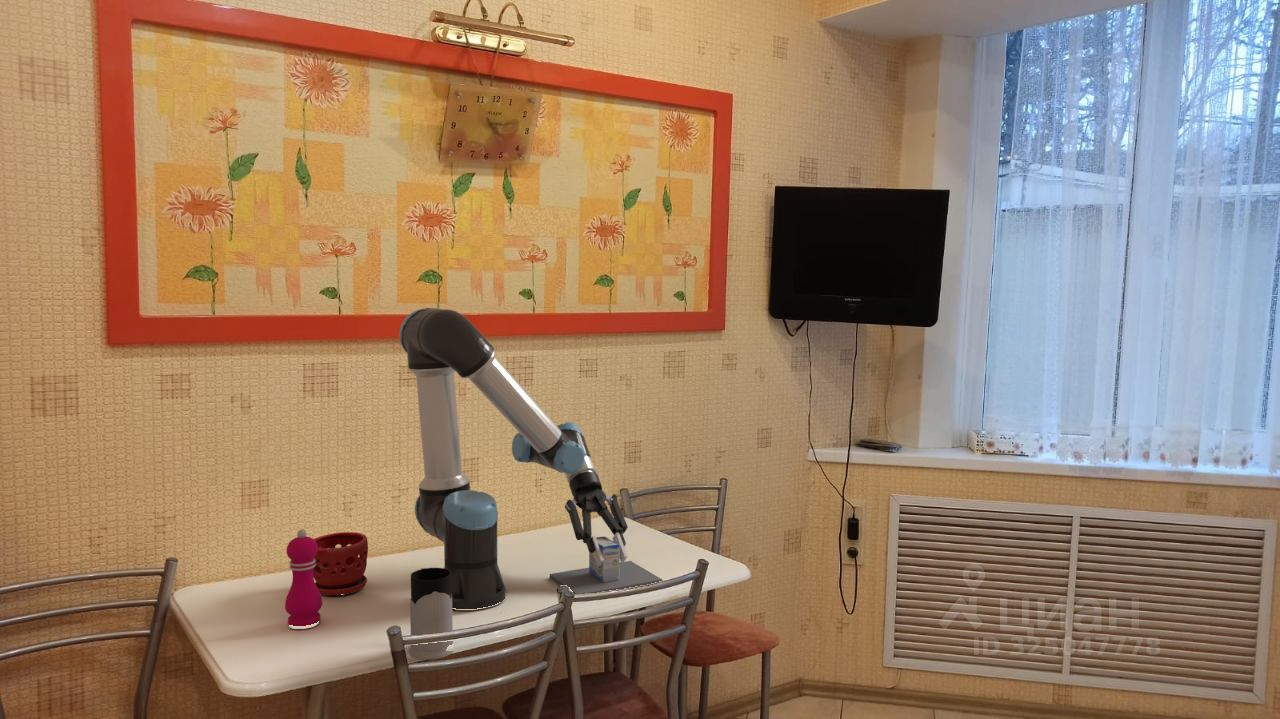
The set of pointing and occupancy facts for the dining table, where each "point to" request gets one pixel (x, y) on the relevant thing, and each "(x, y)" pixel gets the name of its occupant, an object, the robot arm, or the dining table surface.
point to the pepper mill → (303, 582)
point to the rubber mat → (588, 583)
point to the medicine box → (606, 561)
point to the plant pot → (340, 563)
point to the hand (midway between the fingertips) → (612, 561)
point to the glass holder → (431, 610)
